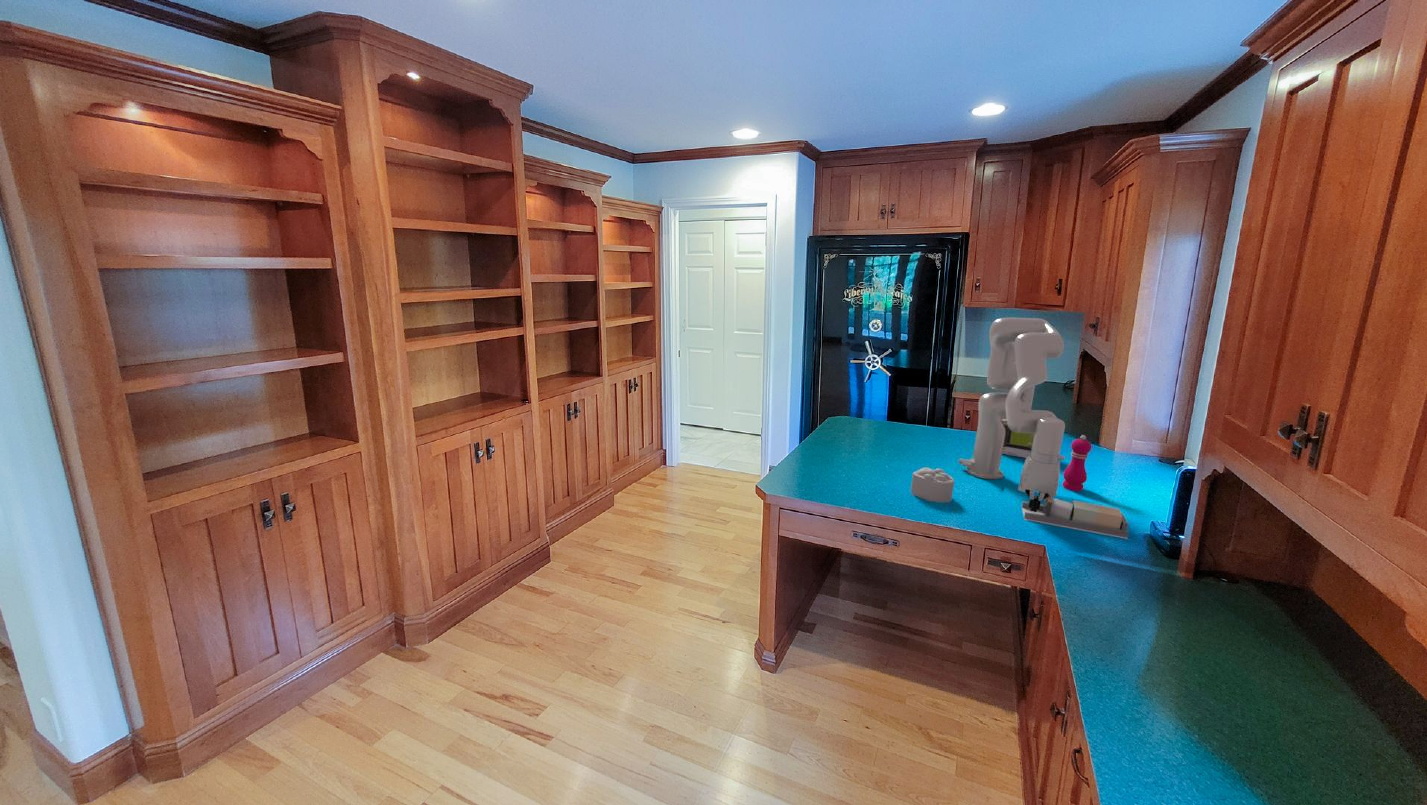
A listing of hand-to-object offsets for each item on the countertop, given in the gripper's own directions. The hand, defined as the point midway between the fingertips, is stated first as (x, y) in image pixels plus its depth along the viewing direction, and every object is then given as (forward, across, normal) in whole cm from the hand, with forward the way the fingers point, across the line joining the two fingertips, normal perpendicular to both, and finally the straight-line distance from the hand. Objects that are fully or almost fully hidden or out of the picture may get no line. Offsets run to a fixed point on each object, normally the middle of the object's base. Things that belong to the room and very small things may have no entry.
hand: (1033, 510), depth 178 cm
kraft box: (+1, -20, -1) cm, 20 cm away
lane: (+2, -11, 0) cm, 11 cm away
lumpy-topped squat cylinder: (+3, +30, -2) cm, 30 cm away
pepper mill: (+3, -15, -33) cm, 37 cm away
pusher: (+1, -4, 0) cm, 4 cm away
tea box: (+3, +2, -64) cm, 64 cm away
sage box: (+1, -14, -1) cm, 14 cm away
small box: (+1, -8, 0) cm, 8 cm away
